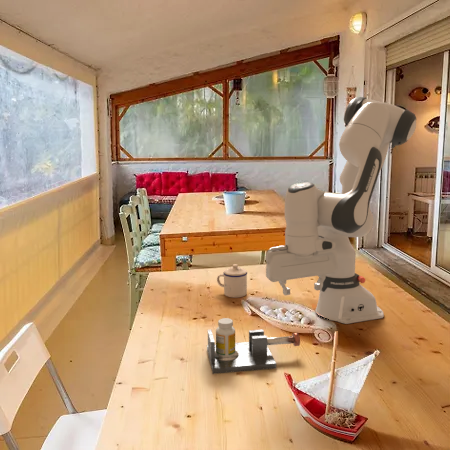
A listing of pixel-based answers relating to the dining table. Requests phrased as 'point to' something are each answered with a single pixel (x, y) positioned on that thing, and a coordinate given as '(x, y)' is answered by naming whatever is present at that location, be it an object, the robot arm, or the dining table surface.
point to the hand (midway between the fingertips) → (302, 292)
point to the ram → (285, 340)
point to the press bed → (242, 355)
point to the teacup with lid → (234, 281)
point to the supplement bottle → (225, 338)
